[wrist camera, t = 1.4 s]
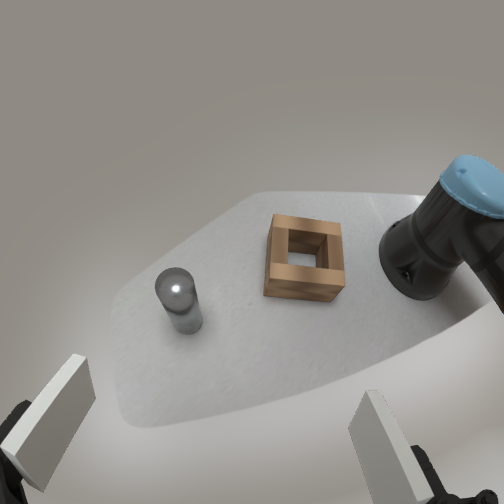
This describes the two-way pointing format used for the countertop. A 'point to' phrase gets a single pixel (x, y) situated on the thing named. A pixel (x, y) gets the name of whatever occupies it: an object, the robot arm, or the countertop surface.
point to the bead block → (310, 242)
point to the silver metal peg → (179, 299)
